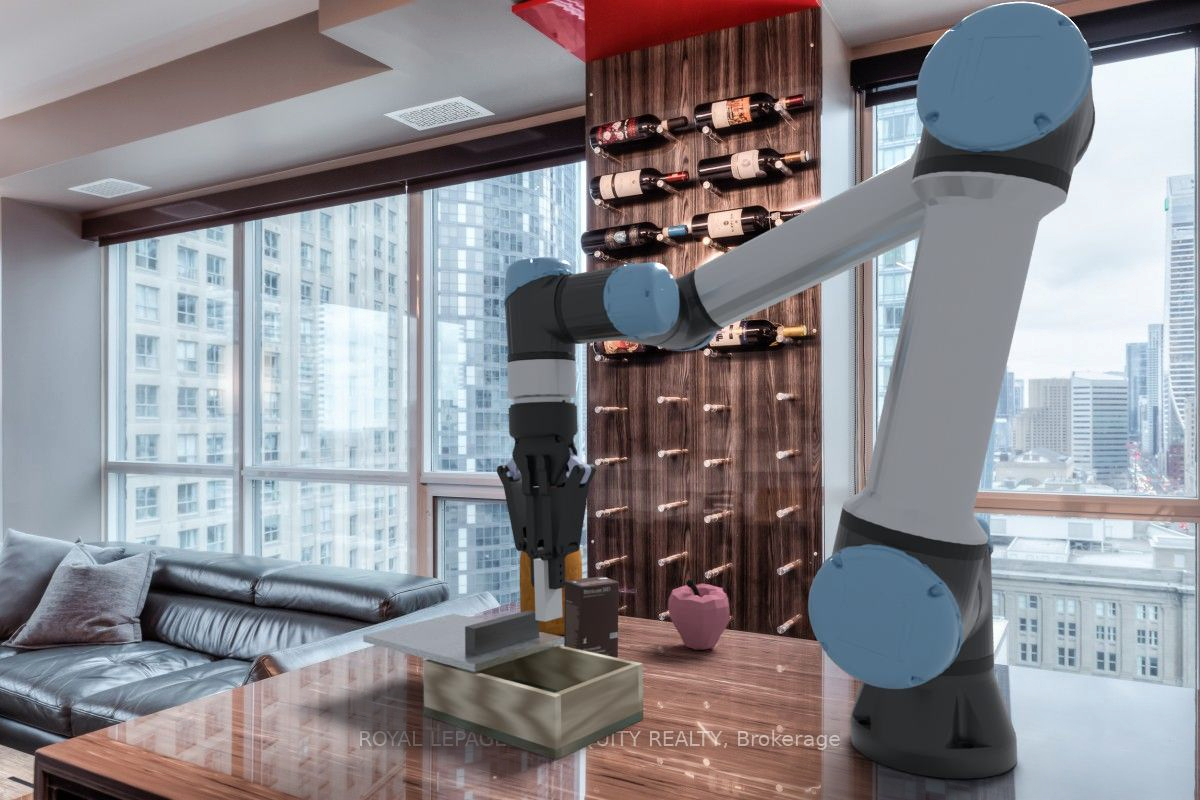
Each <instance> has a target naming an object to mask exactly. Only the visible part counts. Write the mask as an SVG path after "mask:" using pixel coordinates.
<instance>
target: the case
mask: <svg viewBox="0 0 1200 800" xmlns="http://www.w3.org/2000/svg"><path fill="white" fill-rule="evenodd" d="M643 666H644V664H643V663H642V662H637V661H633V660H628V659H624V658H620V657H618V658H615V657H611V656H606V655H602V654H597V653H593V652H588V651H583V650H579V649H574V648H570V647H565V646H564V645H559V646H556V647H553V648H550V649H546V650H543V651H540V652H537V653H534V654H530V655H527V656H524V657H521V658H518V659H514V660H511V661H508V662H505V663H502V664H499V665H495V666H492V667H489V668H486V669H483V670H479V671H476V672H473V671H469V670H466V669H462V668H458V667H455V666H451V665H447V664H444V663H440V662H436V661H432V660H429V659H426V660H423V716H426V717H429V718H431V719H434V720H437V721H440V722H443V723H445V724H449V725H452V726H455V727H458V728H461V729H463V730H467V731H470V732H472V733H475V734H478V735H481V736H484V737H487V738H490V739H493V740H496V741H499V742H502V743H505V744H507V745H509V746H513V747H515V748H516V747H517V748H519V749H522V750H525V751H528V752H530V753H533V754H536V755H539V756H543V757H546V758H548V759H552V760H554V761H557V760H560V759H561V758H564V757H566V756H568V755H570V754H572V753H574V752H576V751H578V750H581V749H583V748H584V747H587V746H589V745H592V744H593V743H595V742H598V741H600V740H601V739H605V738H606V737H608V736H610V735H613V734H614V733H617V732H619V731H621V730H624V729H626V728H628V727H630V726H632V725H634V724H636V723H638V722H641V721H642V720H644V678H643V677H644V672H643V671H644V667H643Z"/></svg>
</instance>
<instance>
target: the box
mask: <svg viewBox="0 0 1200 800" xmlns="http://www.w3.org/2000/svg"><path fill="white" fill-rule="evenodd" d="M619 587H620V582H619V581H617V580H614V579H611V578H608V577H605V576H594V577H582V579H577V580H569V581H565V629H564V632H565V633H564V635H563V637H564V644H563V646H565V647H570V648H574V649H579V650H583V651H588V652H593V653H597V654H602V655H606V656H611V657H615V658H619V603H620V602H619V601H620V600H619V593H620V592H619V590H620V588H619Z"/></svg>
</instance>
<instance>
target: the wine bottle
mask: <svg viewBox="0 0 1200 800" xmlns="http://www.w3.org/2000/svg"><path fill="white" fill-rule="evenodd" d="M555 487H556V486H555ZM524 539H526V538H524ZM582 578H583V558H582V551H581V547H580V548H579V550H578V551H577V552H573V553H571V554H569V555H567V556H566V557H565V581H569V580H577V579H582ZM519 600H520V601H519V602H520V603H519V606H520V609H519V610H520V612H524V611H528V610H531V611H535V587H532V584H531V567H530V558H529V557H528V555H527V553H525V552H523V551H520V556H519ZM562 615H563V617H560V618H557V619H553V620H550V621H546V622H545V621H539V632H543V633H548V634H553V635H557V636H564V633H565V632H564V629H565V586H564V588H562Z"/></svg>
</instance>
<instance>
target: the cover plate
mask: <svg viewBox="0 0 1200 800" xmlns="http://www.w3.org/2000/svg"><path fill="white" fill-rule="evenodd" d="M362 636H363V637H362V639H363V640H362V641H363V643H365V644H370V645H374V646H378V647H382V648H385V649H389V650H393V651H396V652H399V653H404V654H408V655H411V656H413V657H414V656H415V657H418V658H423V659H426V660H432V661H436V662H440V663H444V664H447V665H451V666H455V667H458V668H462V669H466V670H469V671H473V672H476V671H479V670H483V669H486V668H489V667H492V666H495V665H499V664H502V663H505V662H508V661H511V660H514V659H518V658H521V657H524V656H527V655H530V654H534V653H537V652H540V651H543V650H546V649H550V648H553V647H556V646H559V645H561V646H563V645H564V636H563V635H559V636H557V635H553V634H548V633H543V632H539V621H538V620H536V619H535V611H531V610H528V611H524V612H521V611H519V612H517V613H513V614H509V615H505V616H501V617H496V618H494V619H489V620H485V619H480V618H475V617H472V616H471V617H470V616H466V615H460V614H457V613H451V614H448V615H442V616H439V617H434V618H431V619H427V620H426V619H425V620H422V621H417V622H414V623H413V622H412V623H409V624H405V625H401V626H397V627H392V628H388V629H384V630H379V631H375V632H371V633H367V634H363V635H362Z"/></svg>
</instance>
